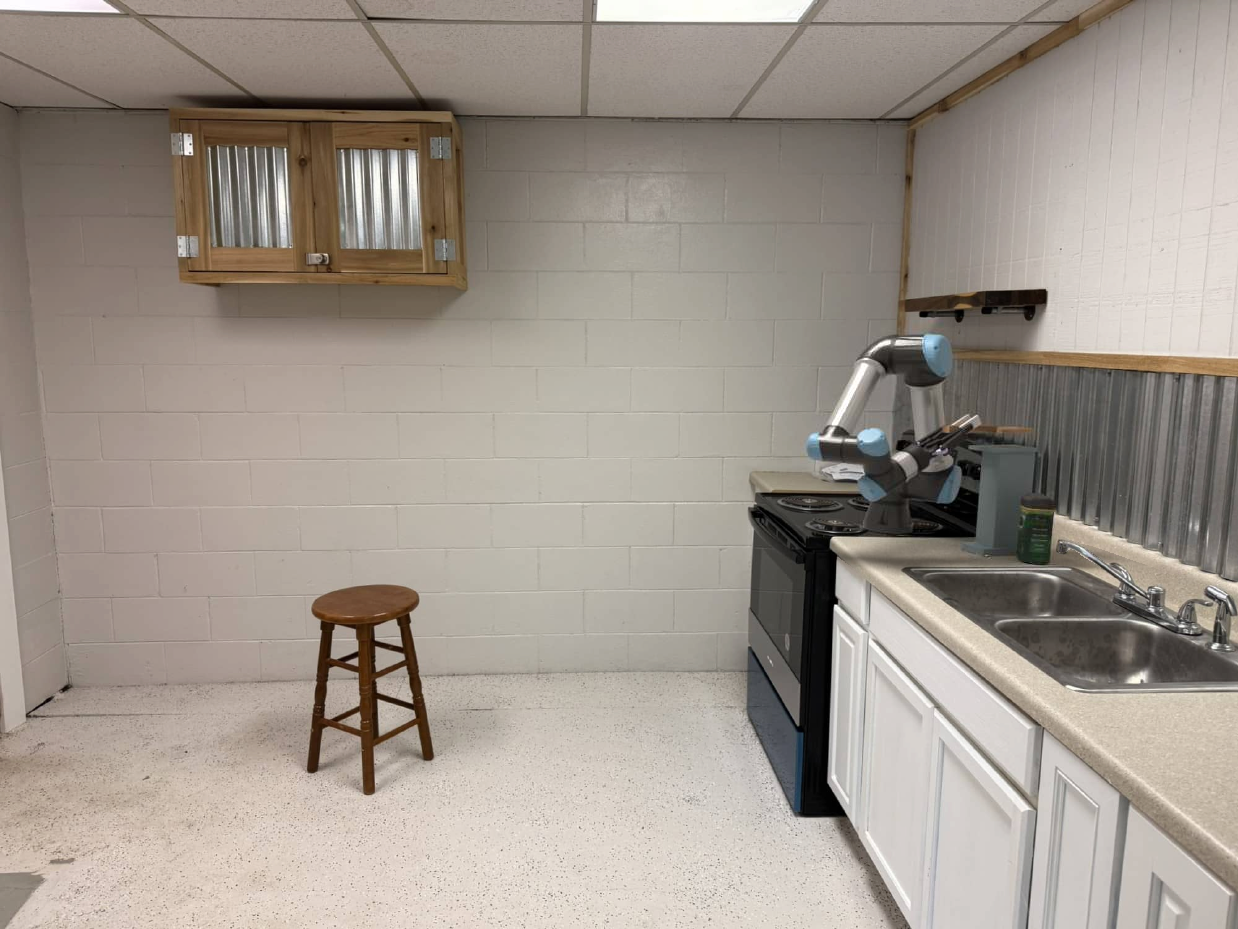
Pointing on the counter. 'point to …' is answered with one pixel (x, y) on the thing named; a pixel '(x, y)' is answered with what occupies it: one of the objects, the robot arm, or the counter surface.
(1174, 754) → the counter surface
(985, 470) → the stand
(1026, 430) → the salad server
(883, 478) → the robot arm
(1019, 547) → the coffee jar
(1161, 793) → the counter surface
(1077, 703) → the counter surface
